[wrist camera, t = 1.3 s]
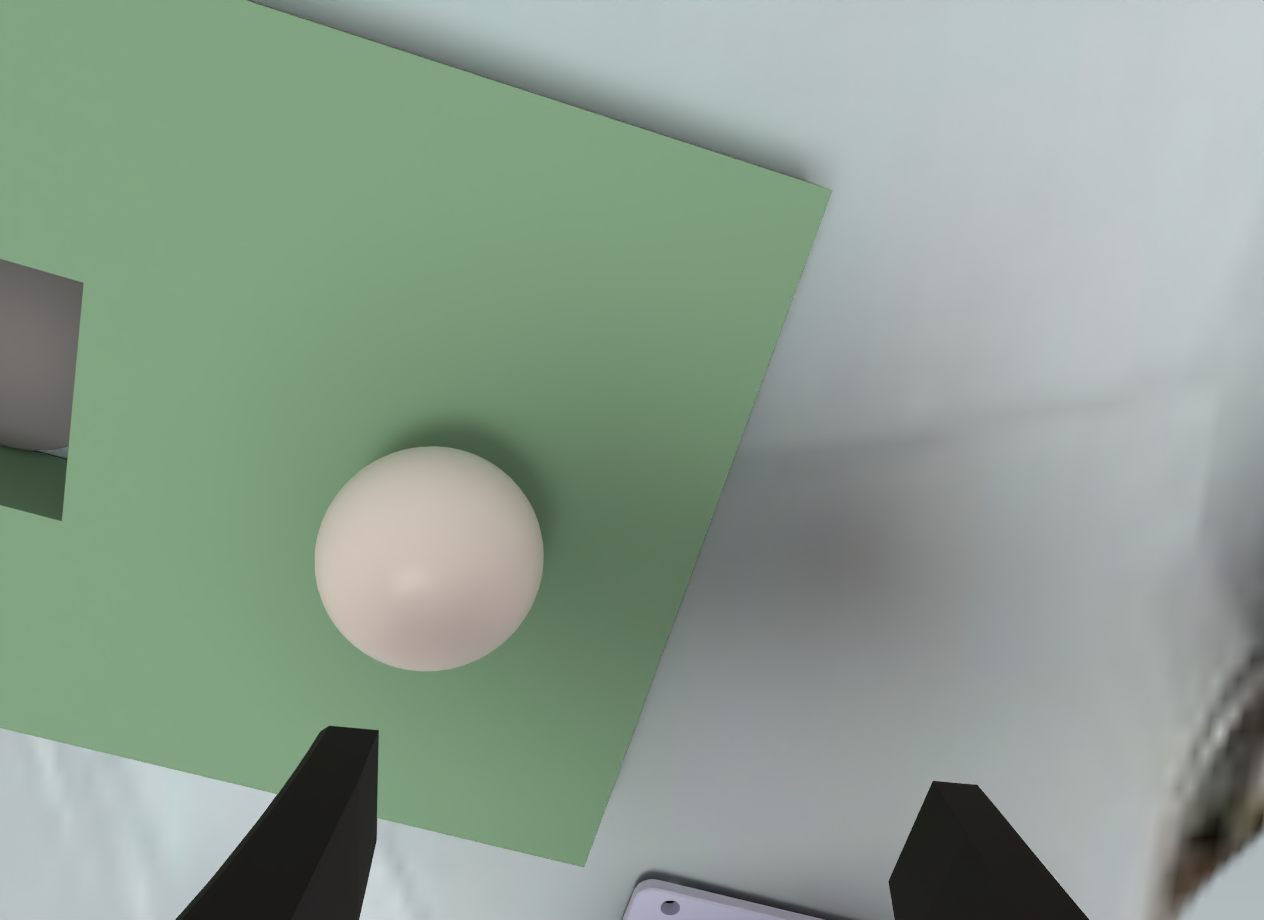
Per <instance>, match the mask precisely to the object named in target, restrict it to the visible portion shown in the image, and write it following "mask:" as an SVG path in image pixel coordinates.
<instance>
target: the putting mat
mask: <svg viewBox="0 0 1264 920" xmlns="http://www.w3.org/2000/svg"><path fill="white" fill-rule="evenodd" d="M831 192H832V190H829V189H827V188H824V187H821V186H818V185H815V184H813V183H810V182H807V181H804V180H801V179H798V178H795V177H792V176H789V175H786V174H782V173H779V172H776V171H773V170H770V169H767V168H764V167H761V166H758V165H755V164H752V163H749V162H745V161H742V160H739V159H736V158H733V157H730V156H727V155H724V154H721V153H718V152H715V151H711V150H708V149H705V148H702V147H699V146H696V145H693V144H690V143H687V142H684V141H681V140H678V139H674V138H671V137H668V136H665V135H662V134H659V133H656V132H653V131H650V130H647V129H644V128H641V127H637V126H634V125H631V124H628V123H625V122H622V121H619V120H616V119H613V118H610V117H607V116H603V115H600V114H597V113H594V112H591V111H588V110H585V109H582V108H579V107H576V106H573V105H570V104H566V103H563V102H560V101H557V100H554V99H551V98H548V97H545V96H542V95H539V94H536V93H533V92H529V91H526V90H523V89H520V88H517V87H514V86H511V85H508V84H505V83H502V82H499V81H495V80H492V79H489V78H486V77H483V76H480V75H477V74H474V73H471V72H468V71H465V70H462V69H458V68H455V67H452V66H449V65H446V64H443V63H440V62H437V61H434V60H431V59H428V58H425V57H421V56H418V55H415V54H412V53H409V52H406V51H403V50H400V49H397V48H394V47H391V46H388V45H384V44H381V43H378V42H375V41H372V40H369V39H366V38H363V37H360V36H357V35H354V34H350V33H347V32H344V31H341V30H338V29H335V28H332V27H329V26H326V25H323V24H320V23H317V22H313V21H310V20H307V19H304V18H301V17H298V16H295V15H292V14H289V13H286V12H283V11H280V10H276V9H273V8H270V7H267V6H264V5H261V4H258V3H255V2H252V1H249V0H0V728H3V729H7V730H12V731H16V732H20V733H24V734H28V735H32V736H37V737H41V738H45V739H49V740H53V741H58V742H62V743H66V744H70V745H74V746H79V747H83V748H87V749H91V750H95V751H99V752H104V753H108V754H112V755H116V756H120V757H125V758H129V759H133V760H137V761H141V762H145V763H150V764H154V765H158V766H162V767H166V768H171V769H175V770H179V771H183V772H187V773H192V774H196V775H200V776H204V777H208V778H212V779H217V780H221V781H225V782H229V783H233V784H238V785H242V786H246V787H250V788H254V789H258V790H263V791H267V792H271V793H275V794H278V793H279V792H280V790H281V789H282V788H283V786H284V785H285V783H286V782H287V781H288V779H289V778H290V776H291V775H292V774H293V772H294V771H295V769H296V768H297V766H298V765H299V763H300V762H301V760H302V759H303V757H304V756H305V754H306V753H307V751H308V750H309V748H310V747H311V745H312V744H313V742H314V740H315V739H316V737H317V736H318V734H319V732H320V731H322V730H323V729H325V728H326V727H328V726H339V727H350V728H361V729H372V730H379V747H378V794H377V818H380V819H384V820H388V821H392V822H397V823H401V824H405V825H409V826H413V827H418V828H422V829H426V830H430V831H434V832H438V833H443V834H447V835H451V836H455V837H459V838H464V839H468V840H472V841H476V842H480V843H485V844H489V845H493V846H497V847H501V848H505V849H510V850H514V851H518V852H522V853H526V854H531V855H535V856H539V857H543V858H547V859H551V860H556V861H560V862H564V863H568V864H572V865H577V866H581V867H584V866H585V863H586V861H587V858H588V855H589V852H590V850H591V847H592V844H593V842H594V839H595V836H596V833H597V831H598V828H599V825H600V822H601V820H602V817H603V814H604V812H605V809H606V806H607V803H608V801H609V798H610V795H611V792H612V790H613V787H614V784H615V782H616V779H617V776H618V773H619V771H620V768H621V765H622V762H623V760H624V757H625V754H626V752H627V749H628V746H629V743H630V741H631V738H632V735H633V732H634V730H635V727H636V724H637V722H638V719H639V716H640V713H641V711H642V708H643V705H644V702H645V700H646V697H647V694H648V692H649V689H650V686H651V683H652V681H653V678H654V675H655V672H656V670H657V667H658V664H659V662H660V659H661V656H662V653H663V651H664V648H665V645H666V642H667V640H668V637H669V634H670V632H671V629H672V626H673V623H674V621H675V618H676V615H677V612H678V610H679V607H680V604H681V602H682V599H683V596H684V593H685V591H686V588H687V585H688V582H689V580H690V577H691V574H692V572H693V569H694V566H695V563H696V561H697V558H698V555H699V552H700V550H701V547H702V544H703V542H704V539H705V536H706V533H707V531H708V528H709V525H710V522H711V520H712V517H713V514H714V512H715V509H716V506H717V503H718V501H719V498H720V495H721V492H722V490H723V487H724V484H725V482H726V479H727V476H728V473H729V471H730V468H731V465H732V462H733V460H734V457H735V454H736V452H737V449H738V446H739V443H740V441H741V438H742V435H743V432H744V430H745V427H746V424H747V422H748V419H749V416H750V413H751V411H752V408H753V405H754V402H755V400H756V397H757V394H758V392H759V389H760V386H761V383H762V381H763V378H764V375H765V372H766V370H767V367H768V364H769V362H770V359H771V356H772V353H773V351H774V348H775V345H776V342H777V340H778V337H779V334H780V332H781V329H782V326H783V323H784V321H785V318H786V315H787V312H788V310H789V307H790V304H791V302H792V299H793V296H794V293H795V291H796V288H797V285H798V282H799V280H800V277H801V274H802V272H803V269H804V266H805V263H806V261H807V258H808V255H809V252H810V250H811V247H812V244H813V242H814V239H815V236H816V233H817V231H818V228H819V225H820V222H821V220H822V217H823V214H824V212H825V209H826V206H827V203H828V201H829V198H830V195H831ZM67 446H69V449H68V459H67V460H66V459H63V458H59V457H55V456H51V455H48V454H44V453H40V452H37V451H33V450H52V449H58V448H63V447H67ZM429 446H439V447H450V448H454V449H459V450H463V451H466V452H469V453H472V454H475V455H477V456H479V457H481V458H483V459H485V460H487V461H489V462H491V463H492V464H494V465H495V466H497V467H498V468H500V469H501V470H502V471H503V472H505V473H506V474H507V475H508V476H509V477H510V478H511V479H512V480H513V481H514V482H515V483H516V484H517V485H518V486H519V488H520V489H521V490H522V492H523V493H524V495H525V496H526V497H527V499H528V500H529V502H530V504H531V506H532V508H533V510H534V512H535V515H536V517H537V520H538V523H539V526H540V531H541V535H542V540H543V550H544V560H543V574H542V578H541V583H540V587H539V590H538V593H537V595H536V598H535V600H534V603H533V605H532V607H531V609H530V611H529V612H528V614H527V616H526V618H525V619H524V620H523V622H522V623H521V625H520V626H519V627H518V628H517V630H516V631H515V632H514V633H513V634H512V635H511V636H510V637H509V638H508V639H507V640H506V641H505V642H504V643H503V644H501V645H500V646H499V647H498V648H496V649H495V650H493V651H492V652H491V653H489V654H487V655H486V656H484V657H482V658H480V659H478V660H476V661H473V662H471V663H468V664H466V665H463V666H460V667H457V668H453V669H448V670H441V671H412V670H405V669H400V668H396V667H393V666H390V665H387V664H384V663H382V662H380V661H377V660H375V659H373V658H371V657H370V656H368V655H366V654H365V653H363V652H362V651H360V650H359V649H358V648H356V647H355V646H354V645H353V644H352V643H351V642H350V641H349V640H347V639H346V638H345V637H344V636H343V635H342V633H341V632H340V631H339V630H338V629H337V627H336V626H335V625H334V623H333V622H332V620H331V619H330V617H329V616H328V614H327V611H326V609H325V607H324V605H323V603H322V600H321V597H320V594H319V591H318V588H317V583H316V577H315V546H316V540H317V536H318V533H319V529H320V526H321V522H322V520H323V517H324V515H325V513H326V511H327V509H328V507H329V506H330V504H331V502H332V501H333V499H334V498H335V496H336V495H337V493H338V492H339V491H340V489H341V488H342V487H343V486H344V485H345V484H346V483H347V482H348V481H349V480H350V479H351V478H352V477H353V476H354V475H355V474H357V473H358V472H359V471H360V470H361V469H363V468H364V467H366V466H367V465H369V464H371V463H372V462H374V461H376V460H378V459H380V458H382V457H384V456H386V455H389V454H391V453H394V452H397V451H401V450H404V449H409V448H416V447H429Z"/></svg>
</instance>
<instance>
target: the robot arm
mask: <svg viewBox="0 0 1264 920" xmlns="http://www.w3.org/2000/svg"><path fill="white" fill-rule="evenodd" d="M378 747H379V730H372V729H361V728H350V727H339V726H328V727H326V728H325V729H323V730H322V731H320V732H319V734H318V736H317V737H316V739H315V740H314V742H313V744H312V745H311V747H310V748H309V750H308V751H307V753H306V754H305V756H304V757H303V759H302V760H301V762H300V763H299V765H298V766H297V768H296V769H295V771H294V772H293V774H292V775H291V776H290V778H289V779H288V781H287V782H286V783H285V785H284V786H283V788H282V789H281V790H280V792H279V793H278V794H277V796H276V797H275V798H274V800H273V801H272V802H271V804H270V805H269V807H268V808H267V809H266V811H265V812H264V813H263V815H262V816H261V817H260V819H259V820H258V821H257V822H256V824H255V825H254V826H253V827H252V829H251V830H250V831H249V832H248V834H247V835H246V836H245V837H244V839H243V840H242V841H241V842H240V844H239V845H238V846H237V847H236V849H235V850H234V851H233V852H232V854H231V855H230V856H229V858H228V859H227V860H226V861H225V863H224V864H223V865H222V866H221V868H220V869H219V870H218V871H217V872H216V874H215V875H214V876H213V877H212V878H211V880H210V881H209V882H208V883H207V884H206V886H205V887H204V888H203V889H202V890H201V891H200V892H199V894H198V895H197V896H196V897H195V898H194V899H193V900H192V901H191V903H190V904H189V905H188V906H187V907H186V908H185V909H184V911H183V912H182V913H181V914H180V915H179V916H178V917H177V918H176V920H359V917H360V913H361V908H362V904H363V899H364V895H365V891H366V886H367V882H368V877H369V872H370V868H371V863H372V858H373V854H374V849H375V845H376V840H377V794H378ZM889 887H890V893H891V899H892V905H893V911H894V917H895V920H1089V919H1088V918H1087V916H1086V915H1085V914H1084V913H1083V912H1082V911H1081V909H1080V908H1079V907H1078V906H1077V905H1076V904H1075V902H1074V901H1073V900H1072V899H1071V898H1070V896H1069V895H1068V894H1067V893H1066V892H1065V890H1064V889H1063V888H1062V887H1061V886H1060V884H1059V883H1058V882H1057V881H1056V880H1055V878H1054V877H1053V876H1052V875H1051V874H1050V872H1049V871H1048V870H1047V869H1046V867H1045V866H1044V865H1043V864H1042V863H1041V861H1040V860H1039V859H1038V858H1037V857H1036V855H1035V854H1034V853H1033V852H1032V851H1031V849H1030V848H1029V847H1028V846H1027V844H1026V843H1025V842H1024V841H1023V840H1022V838H1021V837H1020V836H1019V835H1018V833H1017V832H1016V831H1015V830H1014V828H1013V827H1012V826H1011V825H1010V824H1009V822H1008V821H1007V820H1006V819H1005V818H1004V816H1003V815H1002V814H1001V813H1000V811H999V810H998V809H997V808H996V807H995V805H994V804H993V803H992V802H991V801H990V799H989V798H988V797H987V796H986V795H985V794H984V792H983V791H982V790H981V789H980V788H979V787H978V785H971V784H960V783H949V782H938V781H933V782H932V784H931V787H930V789H929V791H928V793H927V796H926V798H925V800H924V802H923V805H922V807H921V809H920V811H919V814H918V816H917V818H916V821H915V823H914V825H913V827H912V830H911V832H910V834H909V836H908V839H907V841H906V843H905V845H904V848H903V850H902V852H901V854H900V857H899V859H898V861H897V864H896V866H895V868H894V870H893V873H892V875H891V877H890V879H889ZM668 900H669V901H675V902H674V903H665V902H666V901H668ZM622 920H824V919H820V918H816V917H812V916H807V915H803V914H799V913H795V912H791V911H787V910H782V909H778V908H774V907H770V906H766V905H761V904H757V903H753V902H749V901H745V900H741V899H736V898H732V897H728V896H724V895H720V894H716V893H711V892H707V891H703V890H699V889H695V888H691V887H686V886H682V885H678V884H674V883H670V882H665V881H661V880H656V879H649V880H644V881H642V882H641V883H639V884H638V885H637V886H636V888H635V889H634V892H633V894H632V897H631V899H630V902H629V904H628V907H627V909H626V912H625V914H624V917H623V919H622Z"/></svg>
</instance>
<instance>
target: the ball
mask: <svg viewBox="0 0 1264 920" xmlns="http://www.w3.org/2000/svg"><path fill="white" fill-rule="evenodd" d="M543 560H544V550H543V540H542V535H541V531H540V526H539V523H538V520H537V517H536V515H535V512H534V510H533V508H532V506H531V504H530V502H529V500H528V499H527V497H526V496H525V495H524V493H523V492H522V490H521V489H520V488H519V486H518V485H517V484H516V483H515V482H514V481H513V480H512V479H511V478H510V477H509V476H508V475H507V474H506V473H505V472H503V471H502V470H501V469H500V468H498V467H497V466H495V465H494V464H492V463H491V462H489V461H487V460H485V459H483V458H481V457H479V456H477V455H475V454H472V453H469V452H466V451H463V450H459V449H454V448H450V447H439V446H429V447H416V448H409V449H404V450H401V451H397V452H394V453H391V454H389V455H386V456H384V457H382V458H380V459H378V460H376V461H374V462H372V463H371V464H369V465H367V466H366V467H364V468H363V469H361V470H360V471H359V472H358V473H357V474H355V475H354V476H353V477H352V478H351V479H350V480H349V481H348V482H347V483H346V484H345V485H344V486H343V487H342V488H341V489H340V491H339V492H338V493H337V495H336V496H335V498H334V499H333V501H332V502H331V504H330V506H329V507H328V509H327V511H326V513H325V515H324V517H323V520H322V522H321V526H320V529H319V533H318V536H317V540H316V546H315V577H316V583H317V588H318V591H319V594H320V597H321V600H322V603H323V605H324V607H325V609H326V611H327V614H328V616H329V617H330V619H331V620H332V622H333V623H334V625H335V626H336V627H337V629H338V630H339V631H340V632H341V633H342V635H343V636H344V637H345V638H346V639H347V640H349V641H350V642H351V643H352V644H353V645H354V646H355V647H356V648H358V649H359V650H360V651H362V652H363V653H365V654H366V655H368V656H370V657H371V658H373V659H375V660H377V661H380V662H382V663H384V664H387V665H390V666H393V667H396V668H400V669H405V670H412V671H441V670H448V669H453V668H457V667H460V666H463V665H466V664H468V663H471V662H473V661H476V660H478V659H480V658H482V657H484V656H486V655H487V654H489V653H491V652H492V651H493V650H495V649H496V648H498V647H499V646H500V645H501V644H503V643H504V642H505V641H506V640H507V639H508V638H509V637H510V636H511V635H512V634H513V633H514V632H515V631H516V630H517V628H518V627H519V626H520V625H521V623H522V622H523V620H524V619H525V618H526V616H527V614H528V612H529V611H530V609H531V607H532V605H533V603H534V600H535V598H536V595H537V593H538V590H539V587H540V583H541V578H542V574H543Z"/></svg>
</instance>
